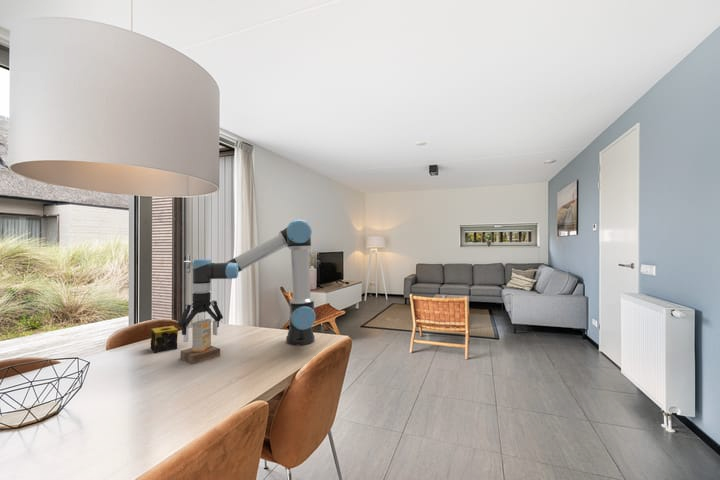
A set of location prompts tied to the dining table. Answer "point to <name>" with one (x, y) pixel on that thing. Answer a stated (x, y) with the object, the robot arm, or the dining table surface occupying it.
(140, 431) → the dining table surface
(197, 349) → the supplement box
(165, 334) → the black and yellow box
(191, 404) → the dining table surface
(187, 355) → the walnut block
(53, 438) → the dining table surface
